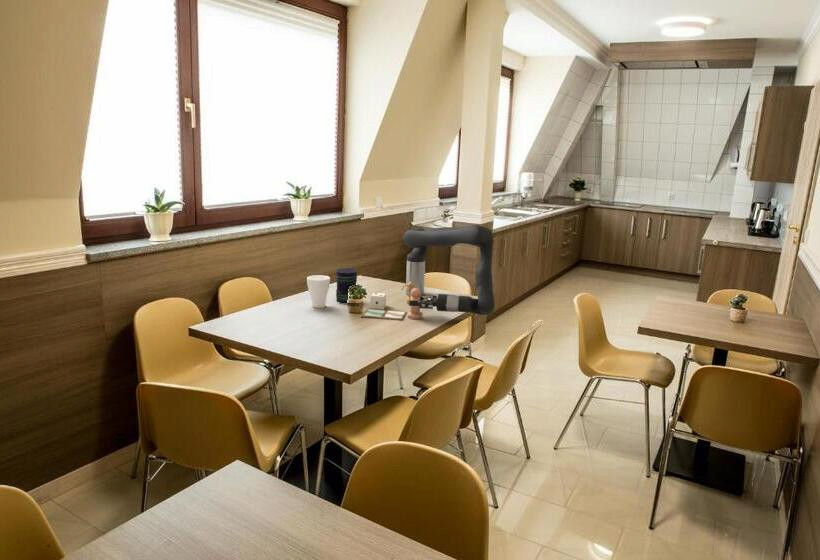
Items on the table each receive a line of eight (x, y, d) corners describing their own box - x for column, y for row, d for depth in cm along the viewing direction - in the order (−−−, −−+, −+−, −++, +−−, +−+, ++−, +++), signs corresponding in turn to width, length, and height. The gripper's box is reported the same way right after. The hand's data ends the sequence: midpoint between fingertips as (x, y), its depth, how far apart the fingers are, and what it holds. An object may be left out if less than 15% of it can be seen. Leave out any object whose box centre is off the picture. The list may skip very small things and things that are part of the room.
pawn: (408, 314, 264) (409, 286, 261) (423, 315, 263) (424, 286, 260) (406, 318, 257) (407, 289, 254) (421, 319, 256) (422, 290, 254)
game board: (366, 310, 269) (366, 308, 269) (406, 312, 266) (406, 311, 266) (360, 317, 258) (360, 315, 257) (402, 320, 255) (402, 318, 255)
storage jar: (340, 297, 289) (340, 267, 286) (359, 299, 287) (359, 269, 284) (332, 302, 280) (332, 271, 277) (352, 304, 278) (352, 273, 274)
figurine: (419, 304, 281) (420, 279, 279) (418, 307, 276) (418, 282, 273) (402, 303, 283) (403, 278, 280) (400, 306, 277) (401, 281, 274)
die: (373, 305, 278) (373, 292, 276) (385, 306, 277) (386, 293, 275) (370, 308, 272) (370, 295, 270) (383, 309, 271) (383, 296, 270)
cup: (322, 310, 267) (322, 281, 264) (302, 307, 270) (302, 278, 267) (334, 304, 276) (334, 276, 273) (314, 302, 280) (314, 274, 277)
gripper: (449, 290, 262) (413, 288, 265) (447, 298, 249) (408, 296, 251) (449, 307, 264) (413, 304, 266) (446, 315, 250) (408, 313, 253)
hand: (411, 300), depth 259 cm, fingers open, 8 cm apart
